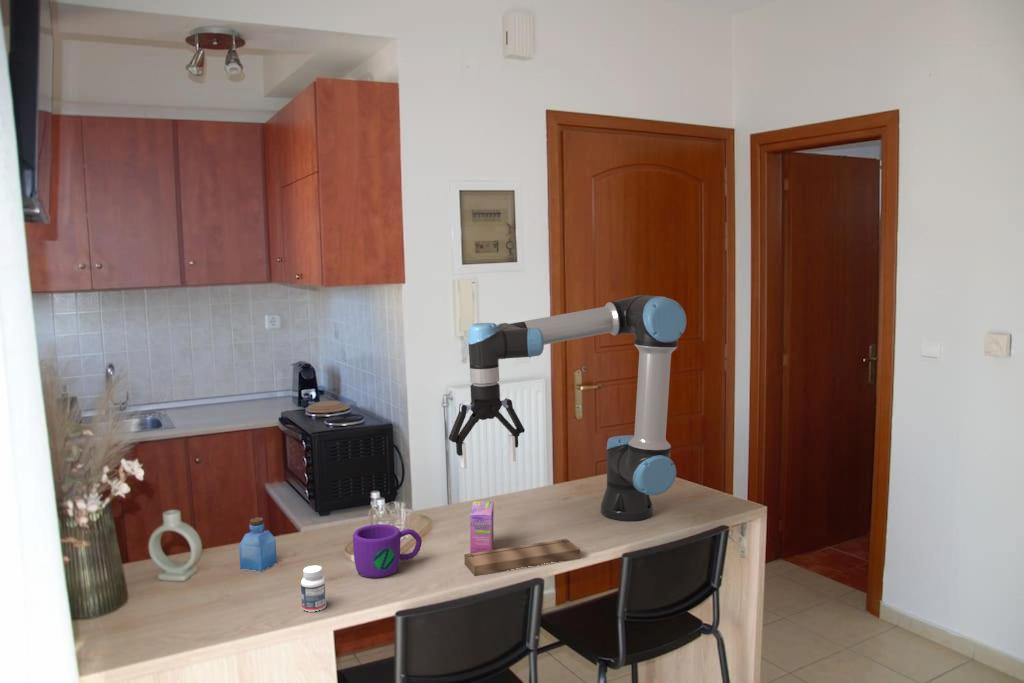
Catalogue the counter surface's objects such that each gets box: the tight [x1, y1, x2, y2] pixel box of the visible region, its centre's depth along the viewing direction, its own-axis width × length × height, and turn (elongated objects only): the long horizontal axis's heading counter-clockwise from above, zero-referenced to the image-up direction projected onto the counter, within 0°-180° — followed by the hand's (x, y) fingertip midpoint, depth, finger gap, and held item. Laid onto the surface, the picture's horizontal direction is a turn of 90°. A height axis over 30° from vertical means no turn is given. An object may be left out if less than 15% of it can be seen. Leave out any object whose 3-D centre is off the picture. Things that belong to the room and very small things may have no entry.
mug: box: [352, 523, 423, 579], centre depth 196 cm, size 17×11×10 cm, turn 119°
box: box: [469, 501, 495, 554], centre depth 206 cm, size 10×6×12 cm, turn 179°
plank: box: [463, 538, 581, 577], centre depth 200 cm, size 28×8×3 cm, turn 111°
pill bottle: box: [300, 564, 327, 613], centre depth 175 cm, size 5×5×9 cm
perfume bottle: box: [238, 517, 278, 572], centre depth 198 cm, size 6×6×12 cm
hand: (488, 463), depth 208 cm, fingers open, 13 cm apart
